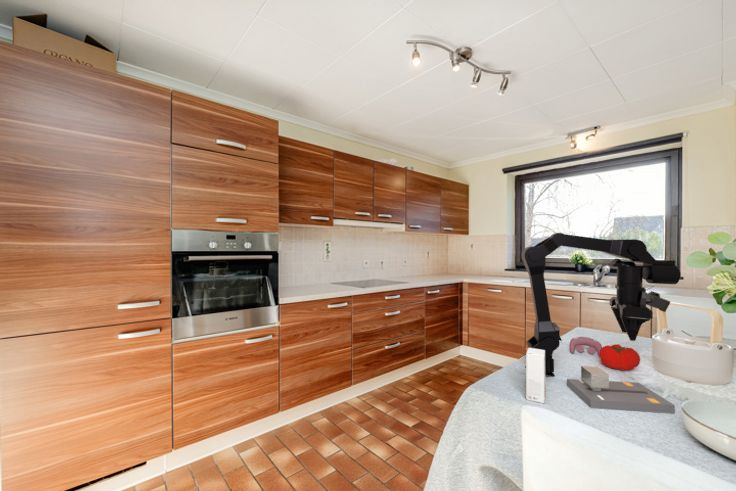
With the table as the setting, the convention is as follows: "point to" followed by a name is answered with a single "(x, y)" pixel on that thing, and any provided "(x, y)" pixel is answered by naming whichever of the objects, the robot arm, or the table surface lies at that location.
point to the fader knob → (594, 377)
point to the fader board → (621, 397)
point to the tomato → (619, 357)
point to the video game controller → (580, 341)
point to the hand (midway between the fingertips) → (628, 336)
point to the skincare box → (535, 375)
